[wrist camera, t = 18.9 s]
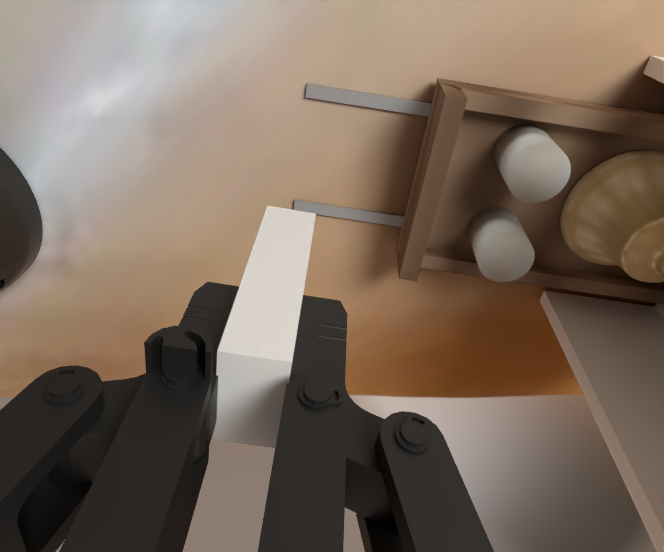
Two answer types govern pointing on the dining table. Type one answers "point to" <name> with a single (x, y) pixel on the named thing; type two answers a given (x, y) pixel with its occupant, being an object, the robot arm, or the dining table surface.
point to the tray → (482, 185)
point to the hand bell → (620, 215)
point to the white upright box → (583, 345)
